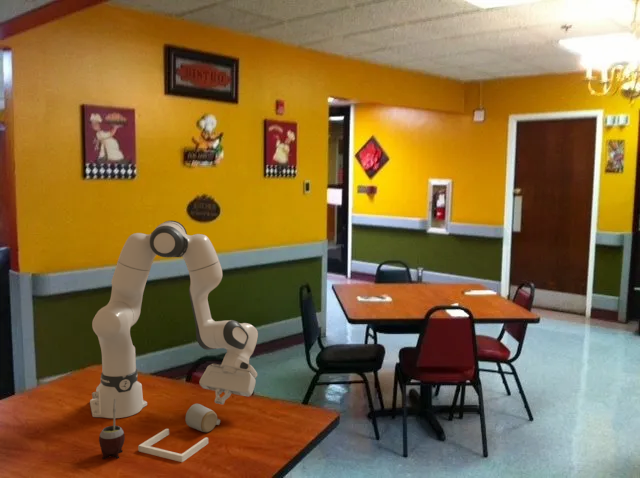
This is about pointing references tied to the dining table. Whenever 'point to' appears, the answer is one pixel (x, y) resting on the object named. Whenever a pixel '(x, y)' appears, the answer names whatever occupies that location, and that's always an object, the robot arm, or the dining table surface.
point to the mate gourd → (111, 439)
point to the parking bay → (168, 454)
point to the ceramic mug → (201, 418)
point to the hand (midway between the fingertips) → (218, 403)
